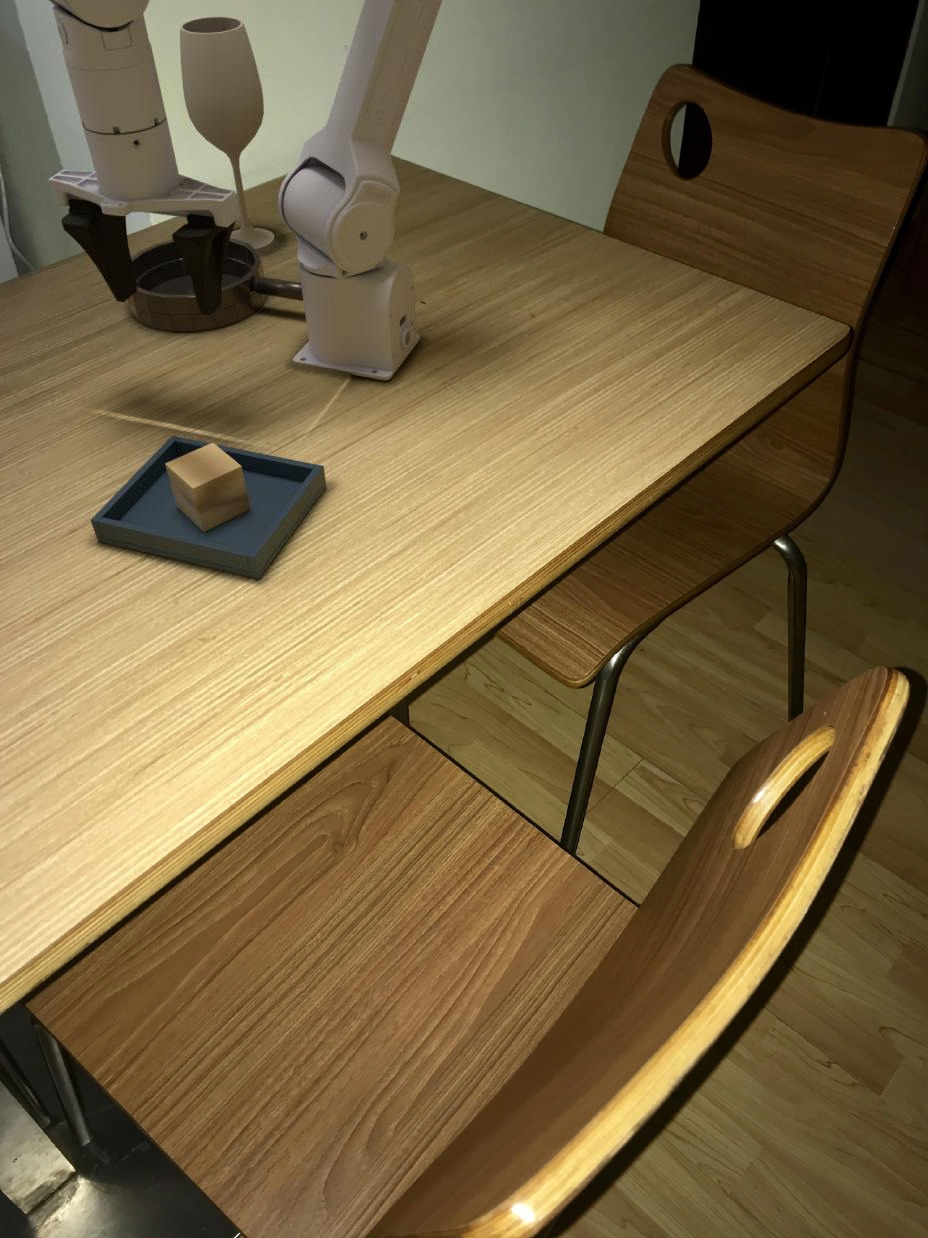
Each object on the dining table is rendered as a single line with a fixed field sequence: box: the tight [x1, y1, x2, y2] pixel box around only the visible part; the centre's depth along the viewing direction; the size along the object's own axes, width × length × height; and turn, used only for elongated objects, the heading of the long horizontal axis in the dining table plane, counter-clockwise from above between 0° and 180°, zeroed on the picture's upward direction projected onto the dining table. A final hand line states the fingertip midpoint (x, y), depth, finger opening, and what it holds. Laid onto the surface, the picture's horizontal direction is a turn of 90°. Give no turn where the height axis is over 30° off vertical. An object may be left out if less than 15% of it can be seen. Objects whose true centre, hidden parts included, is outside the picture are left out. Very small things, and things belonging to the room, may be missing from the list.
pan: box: [126, 238, 267, 333], centre depth 97 cm, size 13×13×4 cm
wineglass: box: [179, 16, 275, 250], centre depth 101 cm, size 8×8×21 cm
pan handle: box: [252, 276, 304, 302], centre depth 94 cm, size 8×2×2 cm, turn 71°
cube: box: [165, 442, 250, 532], centre depth 73 cm, size 4×4×4 cm
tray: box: [90, 435, 327, 580], centre depth 74 cm, size 13×11×2 cm
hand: (168, 302), depth 79 cm, fingers open, 7 cm apart
